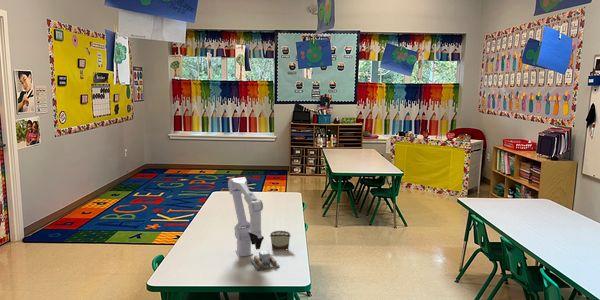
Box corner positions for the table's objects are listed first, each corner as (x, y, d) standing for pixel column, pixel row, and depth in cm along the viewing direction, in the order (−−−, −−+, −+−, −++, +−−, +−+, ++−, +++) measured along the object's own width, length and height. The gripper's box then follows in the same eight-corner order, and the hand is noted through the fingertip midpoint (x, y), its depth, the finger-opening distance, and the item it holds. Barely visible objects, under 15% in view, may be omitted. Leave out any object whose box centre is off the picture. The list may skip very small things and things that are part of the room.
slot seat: (251, 262, 242) (251, 256, 242) (271, 258, 247) (271, 252, 246) (258, 270, 231) (257, 264, 231) (279, 267, 236) (279, 261, 236)
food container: (290, 246, 266) (290, 230, 264) (290, 250, 260) (290, 233, 258) (270, 246, 266) (270, 230, 264) (269, 250, 260) (269, 233, 258)
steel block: (259, 262, 240) (259, 251, 239) (266, 260, 242) (266, 250, 241) (261, 265, 236) (261, 254, 235) (269, 264, 238) (269, 253, 237)
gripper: (244, 219, 243) (244, 243, 245) (252, 227, 229) (252, 252, 232) (256, 217, 245) (257, 241, 248) (265, 226, 232) (265, 250, 234)
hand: (255, 246), depth 240 cm, fingers open, 7 cm apart
